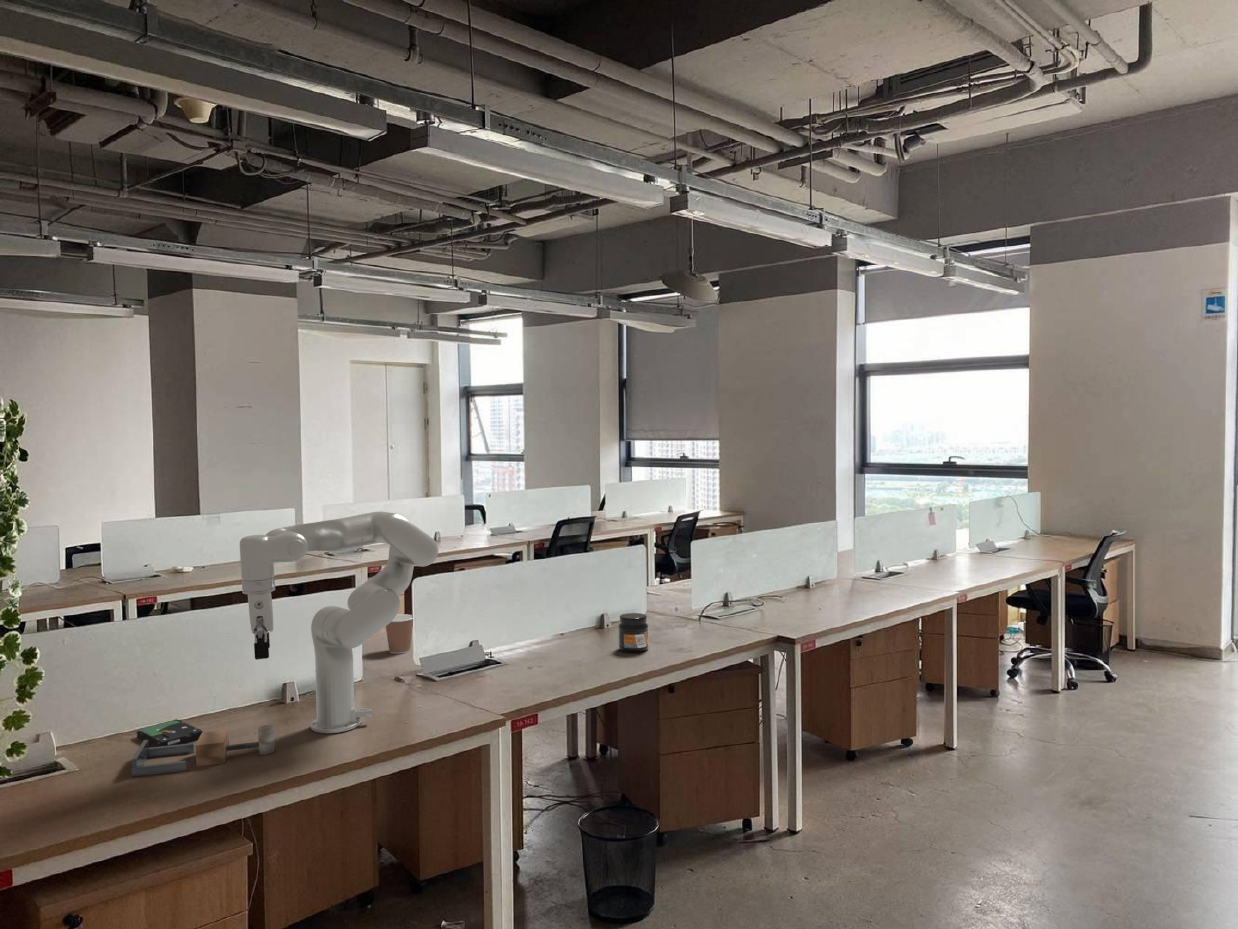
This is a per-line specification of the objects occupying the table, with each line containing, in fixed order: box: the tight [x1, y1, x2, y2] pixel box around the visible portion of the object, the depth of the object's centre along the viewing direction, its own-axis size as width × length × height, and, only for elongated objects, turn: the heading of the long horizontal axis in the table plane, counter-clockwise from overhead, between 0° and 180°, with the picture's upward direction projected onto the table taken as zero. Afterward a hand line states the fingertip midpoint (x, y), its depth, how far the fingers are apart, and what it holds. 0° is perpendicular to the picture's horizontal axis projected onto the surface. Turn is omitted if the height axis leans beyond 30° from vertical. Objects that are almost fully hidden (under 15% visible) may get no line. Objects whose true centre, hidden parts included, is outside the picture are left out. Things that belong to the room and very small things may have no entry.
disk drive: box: [136, 718, 204, 747], centre depth 225 cm, size 10×3×15 cm
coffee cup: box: [385, 613, 414, 655], centre depth 309 cm, size 10×10×12 cm
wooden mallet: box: [195, 724, 276, 767], centre depth 212 cm, size 17×9×6 cm, turn 107°
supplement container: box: [617, 612, 649, 654], centre depth 308 cm, size 10×10×12 cm
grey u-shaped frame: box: [131, 740, 195, 778], centre depth 208 cm, size 11×13×4 cm
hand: (262, 653), depth 218 cm, fingers open, 9 cm apart
